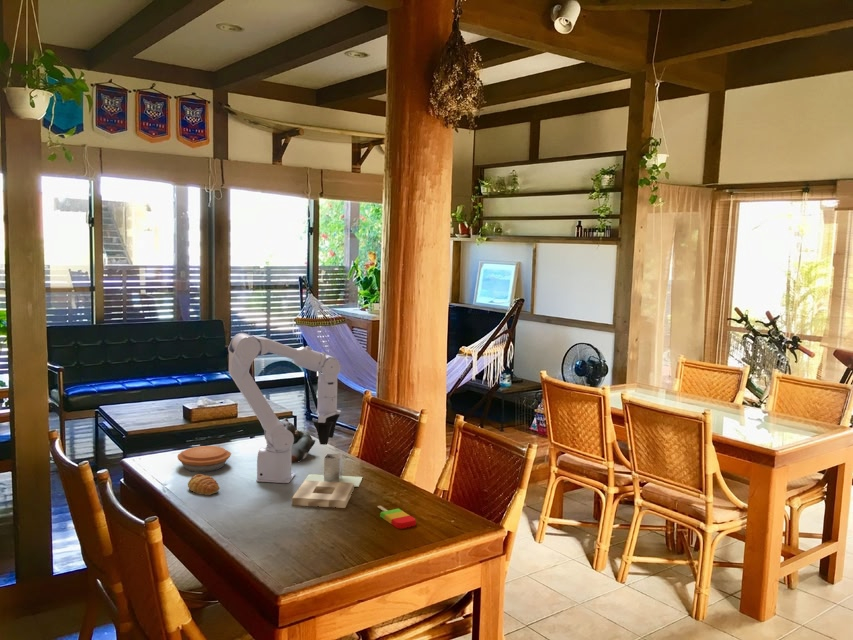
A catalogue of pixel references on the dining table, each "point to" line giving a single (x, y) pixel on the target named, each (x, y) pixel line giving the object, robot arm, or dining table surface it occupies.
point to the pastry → (203, 484)
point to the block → (333, 467)
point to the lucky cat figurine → (298, 442)
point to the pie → (204, 458)
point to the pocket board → (323, 494)
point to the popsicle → (397, 518)
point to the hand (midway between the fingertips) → (326, 440)
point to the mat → (344, 479)
